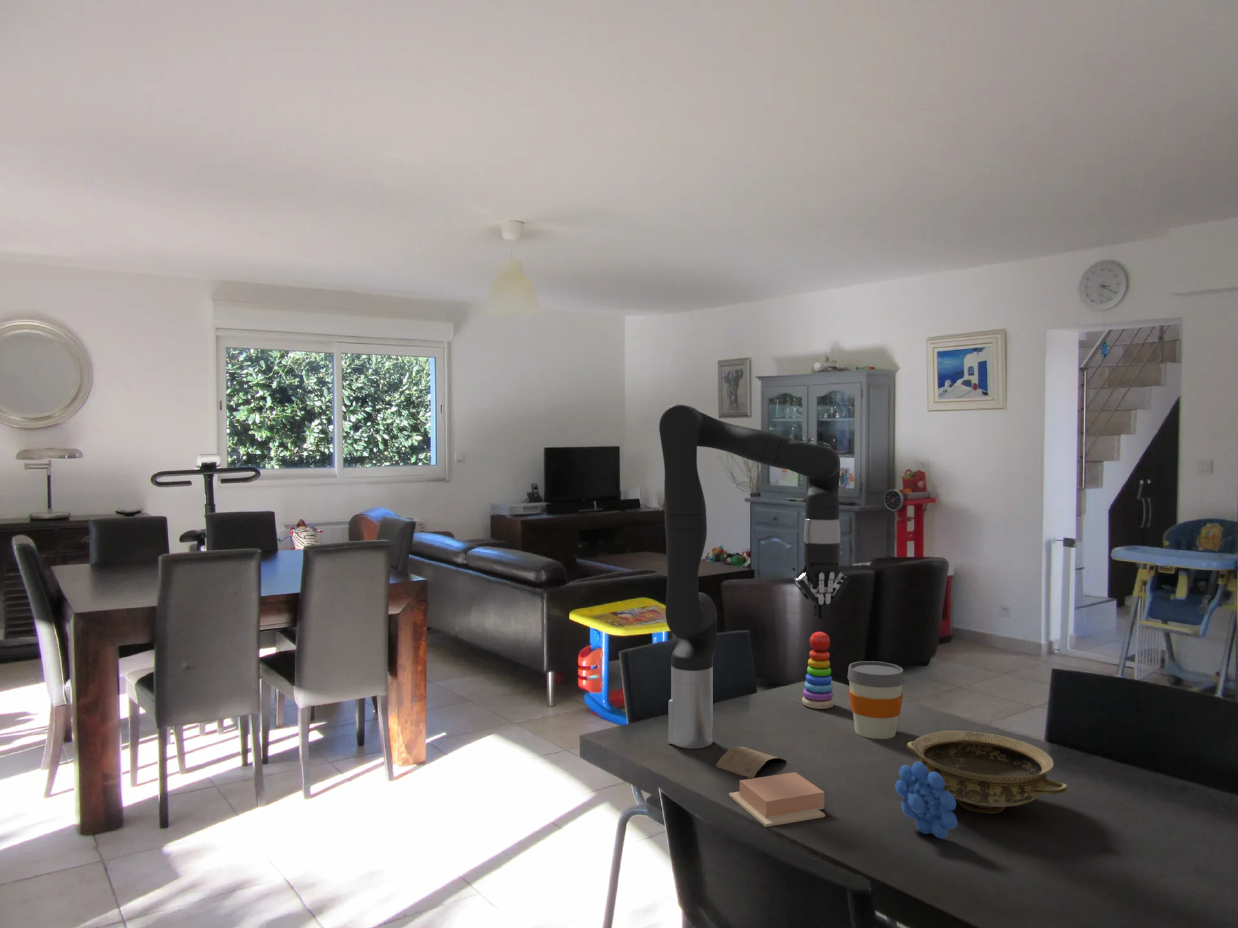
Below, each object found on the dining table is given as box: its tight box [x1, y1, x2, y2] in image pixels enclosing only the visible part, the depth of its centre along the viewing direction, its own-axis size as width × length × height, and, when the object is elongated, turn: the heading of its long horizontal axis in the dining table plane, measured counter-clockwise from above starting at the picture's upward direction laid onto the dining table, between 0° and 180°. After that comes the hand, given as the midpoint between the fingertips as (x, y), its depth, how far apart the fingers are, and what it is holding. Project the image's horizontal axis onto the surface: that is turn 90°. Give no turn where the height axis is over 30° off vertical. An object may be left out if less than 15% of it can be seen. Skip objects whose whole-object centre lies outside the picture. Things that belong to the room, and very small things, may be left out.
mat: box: [728, 791, 826, 828], centre depth 157 cm, size 12×14×1 cm
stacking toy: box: [801, 631, 835, 710], centre depth 217 cm, size 8×8×19 cm
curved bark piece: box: [715, 746, 787, 779], centre depth 178 cm, size 14×10×3 cm
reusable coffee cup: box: [847, 660, 905, 740], centre depth 197 cm, size 13×13×15 cm
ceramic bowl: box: [906, 730, 1068, 814], centre depth 158 cm, size 30×24×10 cm
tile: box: [738, 771, 825, 818], centre depth 158 cm, size 3×10×12 cm
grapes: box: [894, 761, 958, 840], centre depth 145 cm, size 12×7×12 cm, turn 37°
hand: (821, 620), depth 182 cm, fingers closed
